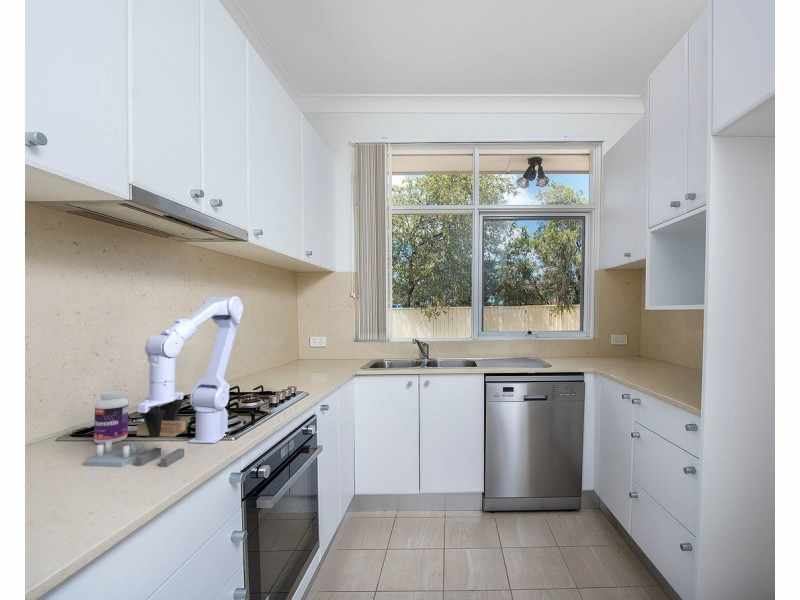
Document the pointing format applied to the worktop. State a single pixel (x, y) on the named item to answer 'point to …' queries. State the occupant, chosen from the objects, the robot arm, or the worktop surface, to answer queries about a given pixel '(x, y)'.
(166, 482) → the worktop surface
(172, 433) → the shelf board
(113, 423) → the pill bottle
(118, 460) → the peg base
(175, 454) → the board rack
